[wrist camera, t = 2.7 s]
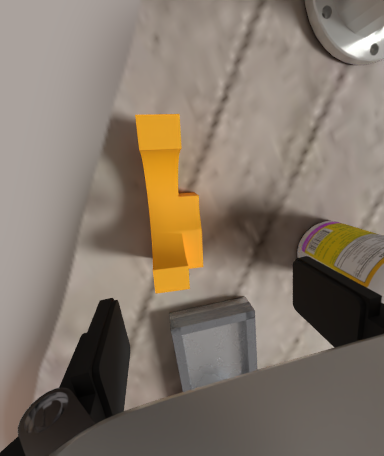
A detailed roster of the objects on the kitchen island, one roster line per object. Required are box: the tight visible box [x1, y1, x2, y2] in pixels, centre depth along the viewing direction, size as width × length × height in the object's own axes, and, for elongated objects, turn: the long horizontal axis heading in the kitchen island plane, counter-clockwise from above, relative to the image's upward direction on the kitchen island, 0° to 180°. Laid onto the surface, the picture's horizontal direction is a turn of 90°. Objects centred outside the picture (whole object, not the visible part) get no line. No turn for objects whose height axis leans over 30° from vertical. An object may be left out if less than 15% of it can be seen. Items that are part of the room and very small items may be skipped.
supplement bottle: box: [297, 221, 384, 304], centre depth 19 cm, size 7×7×13 cm
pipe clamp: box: [135, 114, 203, 293], centre depth 17 cm, size 12×4×6 cm, turn 3°
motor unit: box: [169, 297, 257, 392], centre depth 23 cm, size 28×11×12 cm, turn 7°
